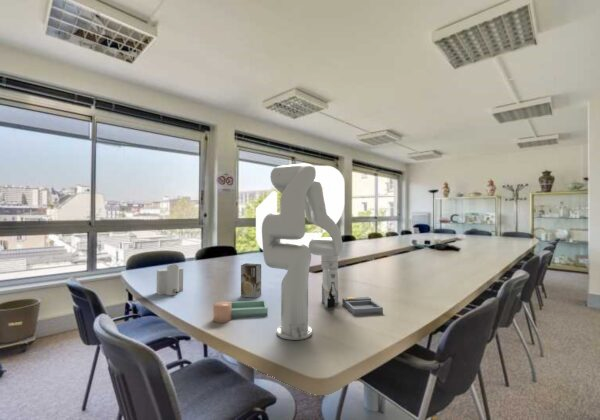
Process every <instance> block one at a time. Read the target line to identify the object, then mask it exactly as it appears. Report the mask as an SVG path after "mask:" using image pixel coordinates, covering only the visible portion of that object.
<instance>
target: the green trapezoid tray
mask: <svg viewBox="0 0 600 420" xmlns="http://www.w3.org/2000/svg"><path fill="white" fill-rule="evenodd" d="M230 302H231V303H232V313H231V319H232V318H245V317H246V318H247V317H248V318H249V317H263V316H265V317H266V316H268V315H269V314H268V304H267V300H265V299H263V300H249V301H248V300H247V301H246V300H245V301H230Z"/></svg>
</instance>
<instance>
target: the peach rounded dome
mask: <svg viewBox="0 0 600 420" xmlns="http://www.w3.org/2000/svg"><path fill="white" fill-rule="evenodd" d="M231 302H232V301H218V302H214V303H213V305H212V306H213V309H212V311H213V313H212V314H213V316H212V321H213V322H214V323H223V324H224V323H227V322H230V321H231V320H232V318H231V313H232V303H231Z"/></svg>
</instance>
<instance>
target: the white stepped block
mask: <svg viewBox="0 0 600 420" xmlns="http://www.w3.org/2000/svg"><path fill="white" fill-rule="evenodd" d="M179 291H180V292H184V268H183V267H180V264H176V263H175V264H168V265H167V266H166V268H163V269H156V294H157V295H158V296H160V295H166V296H176V295H177V294H178V293H180V292H179Z"/></svg>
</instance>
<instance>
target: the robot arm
mask: <svg viewBox="0 0 600 420" xmlns="http://www.w3.org/2000/svg"><path fill="white" fill-rule="evenodd" d="M270 182H271V184H272V186H273V187H274V188H275V190H277V191H278V192H279V193H280V194H281V195H280V199H279V200H280V201H279V206H280V207H279V208H280V209H279V212H271V213H269V214H266V215H265V217H264V218H263V221H262V224H261V239H262V240H261V242H262V252H263V255H262V256H263V260H264V262H265V265H266V266H267V267H269V268H271V269H272V268H273V269H277V270H286V271H287V272H286V273H285V275H284V276H283V278H282V280H281V285H280V286H281V287H280V289H281V290H280V291H281V294H280V295H281V297H280V299H281V301H280V302H281V303H280V305H281V307H280V308H281V309H280V313H281V314H280V317H281V318H280V321H281V322H280V324H281V325H279V326H278V327H277V328H276V334H277V336H278V337H279V338H282V339H285V340H289V341H299V340H305V339H308V338H309V337H311V336H312V335H313V328H312V327H311V326H310V325H309V276H310V275H309V274H310V267H311V261H312V255H315V256H320V259H321V261H320V265H321V266H320V267H321V269H322V278H321V280H322V281H321V282H322V284H323V288H324V303H323V304H324V305H325V290H327V291H328V301H327V307H328V308H334V309H335V307H336V303H335V294H336V292H338V293H339V273H338V269H339V256H341V255H342V253H343V250H344V249H343V248H344V247H343V246H344V245H343V239H342V233H341V230H340V228H339V227H338V225H337V223H336V222H335V221H334V220H333V219H332V218H331V217H330V216H329V215H328V214H327V210H326V204H325V198H324V191H323V188H322V183H321V182H320V181H319V180H316V168H315V167H314V166H313V165H312V164H310V163H295V164H288V165H279V166H276V167H274V168H273V169H272V170H271V171H270ZM306 220H307V221H308V222H309V223H311V224H313V225H315V226H317V227H318V228H321V229H323V230H324V231H326V232H327V233H328V234H329V236H325V237H314V238H312V239H311V240H310V241H309V243H308V246H307V245H305V244H302V243H298V242H296V243H295V242H281V240H285V241H287V240H289V241H296V240H301V239H302V238H304V237H305V234H306ZM322 284H321V285H322ZM330 290H332V291H330ZM335 291H336V292H335ZM330 293H331V294H330Z"/></svg>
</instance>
